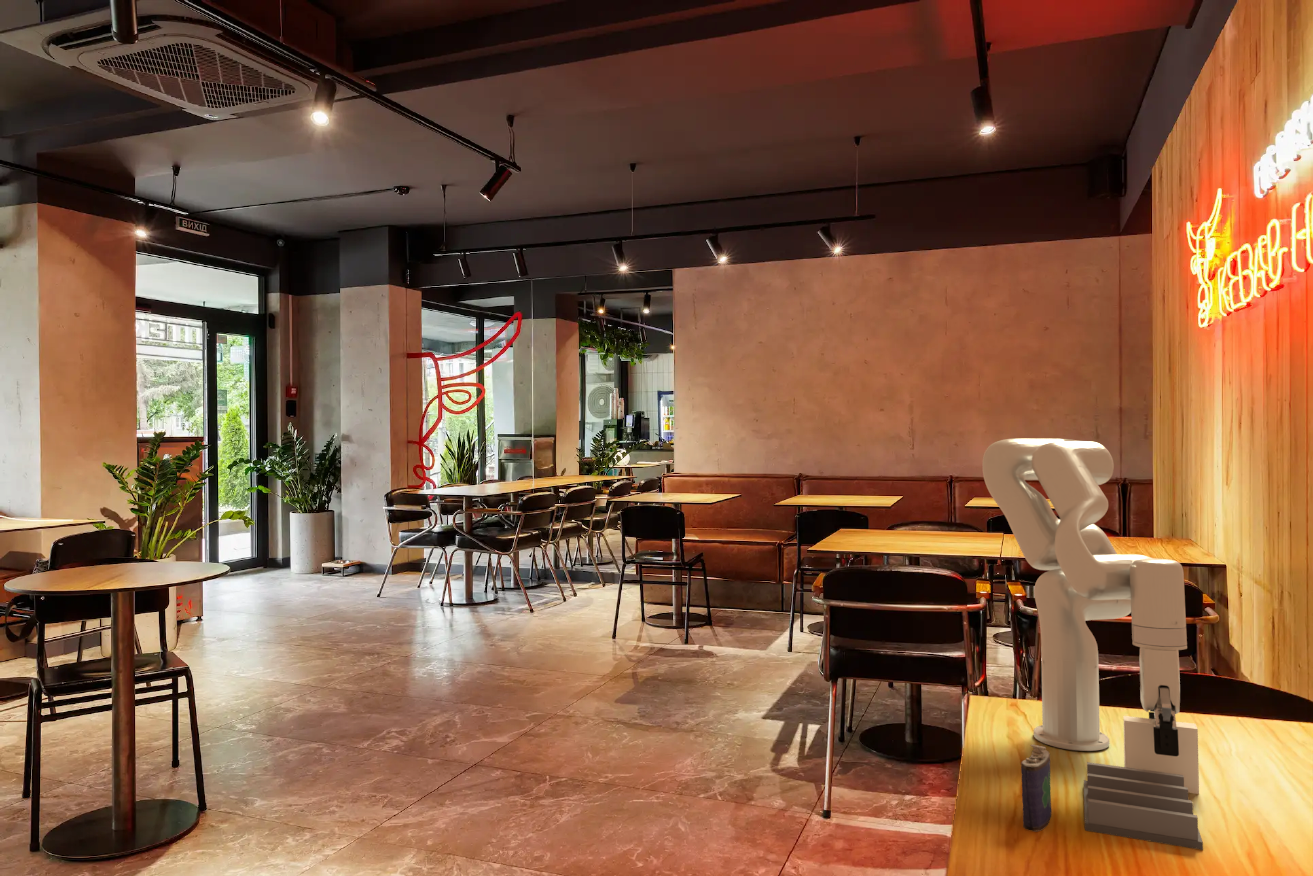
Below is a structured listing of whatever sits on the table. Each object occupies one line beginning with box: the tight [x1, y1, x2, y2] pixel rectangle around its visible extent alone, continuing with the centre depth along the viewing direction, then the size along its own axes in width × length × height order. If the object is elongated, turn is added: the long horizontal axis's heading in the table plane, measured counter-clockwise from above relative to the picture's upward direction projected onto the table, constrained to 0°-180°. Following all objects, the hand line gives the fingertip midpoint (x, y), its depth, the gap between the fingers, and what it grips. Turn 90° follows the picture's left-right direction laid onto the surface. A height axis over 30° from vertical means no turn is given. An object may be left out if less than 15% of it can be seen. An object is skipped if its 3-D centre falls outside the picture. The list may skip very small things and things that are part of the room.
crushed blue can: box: [1020, 743, 1053, 832], centre depth 123 cm, size 9×3×11 cm, turn 144°
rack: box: [1083, 761, 1204, 851], centre depth 125 cm, size 18×14×4 cm
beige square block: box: [1123, 715, 1200, 795], centre depth 137 cm, size 3×10×10 cm, turn 64°
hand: (1163, 746), depth 136 cm, fingers open, 9 cm apart
